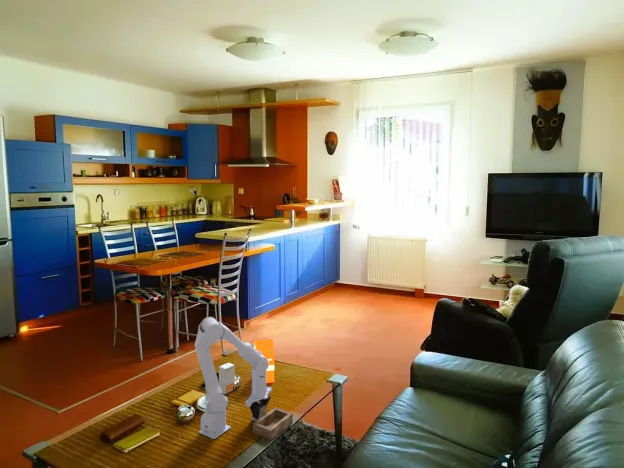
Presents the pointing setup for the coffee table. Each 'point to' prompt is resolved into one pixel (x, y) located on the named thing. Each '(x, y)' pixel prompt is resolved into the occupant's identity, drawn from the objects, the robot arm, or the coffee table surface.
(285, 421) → the well block
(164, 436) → the coffee table surface
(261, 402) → the bracket
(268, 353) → the orange juice
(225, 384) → the skincare box
